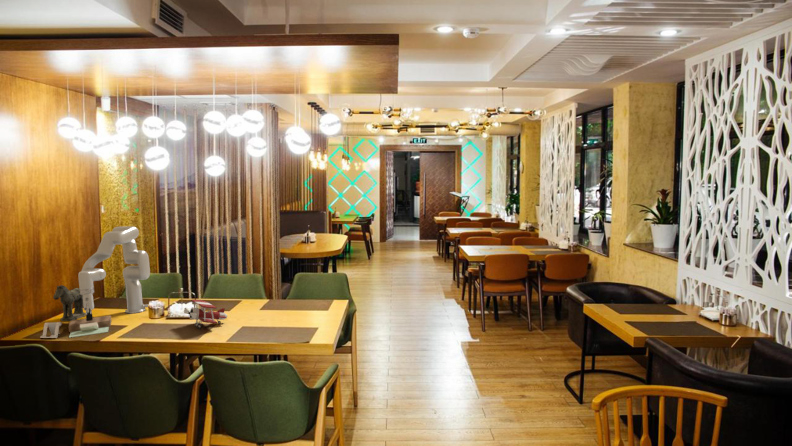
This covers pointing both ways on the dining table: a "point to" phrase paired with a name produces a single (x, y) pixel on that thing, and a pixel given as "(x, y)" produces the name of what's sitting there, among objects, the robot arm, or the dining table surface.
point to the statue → (70, 303)
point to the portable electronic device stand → (51, 329)
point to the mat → (88, 332)
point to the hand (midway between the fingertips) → (89, 320)
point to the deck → (102, 322)
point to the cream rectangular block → (89, 326)
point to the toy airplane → (205, 313)
